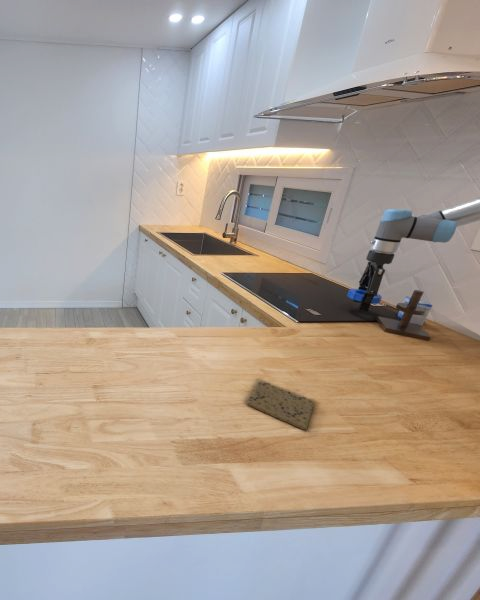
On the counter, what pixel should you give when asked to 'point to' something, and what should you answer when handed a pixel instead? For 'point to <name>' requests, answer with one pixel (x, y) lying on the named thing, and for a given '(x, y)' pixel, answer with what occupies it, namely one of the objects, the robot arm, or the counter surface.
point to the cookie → (282, 404)
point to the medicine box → (417, 318)
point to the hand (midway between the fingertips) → (360, 306)
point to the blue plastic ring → (359, 295)
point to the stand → (406, 319)
